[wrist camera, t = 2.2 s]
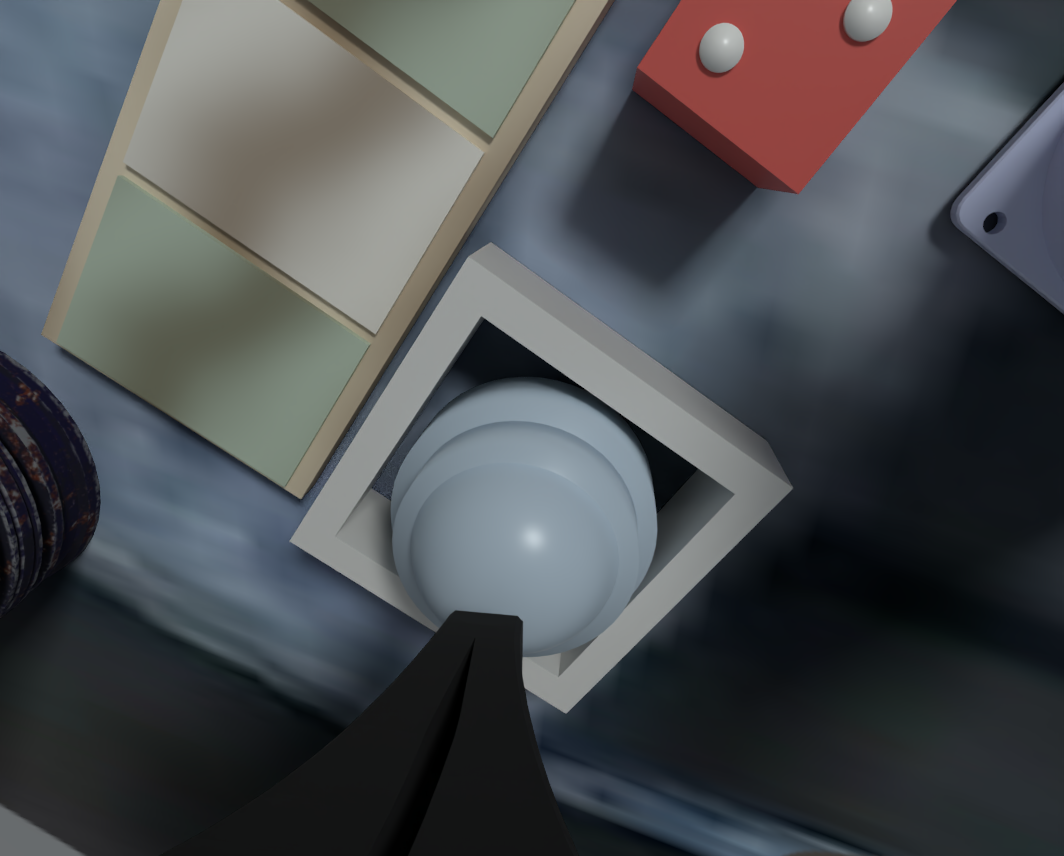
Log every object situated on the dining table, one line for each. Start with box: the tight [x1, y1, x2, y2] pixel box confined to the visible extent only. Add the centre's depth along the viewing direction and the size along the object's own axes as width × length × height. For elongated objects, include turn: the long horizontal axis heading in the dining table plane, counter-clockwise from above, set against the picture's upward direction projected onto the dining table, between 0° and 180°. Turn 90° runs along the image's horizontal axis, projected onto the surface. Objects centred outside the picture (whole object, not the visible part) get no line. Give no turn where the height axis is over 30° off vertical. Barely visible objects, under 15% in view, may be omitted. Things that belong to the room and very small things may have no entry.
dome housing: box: [290, 243, 793, 713], centre depth 19 cm, size 10×10×3 cm
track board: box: [41, 0, 615, 499], centre depth 16 cm, size 9×24×1 cm, turn 145°
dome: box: [391, 377, 657, 657], centre depth 16 cm, size 7×7×5 cm
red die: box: [632, 0, 957, 194], centre depth 14 cm, size 4×4×4 cm
